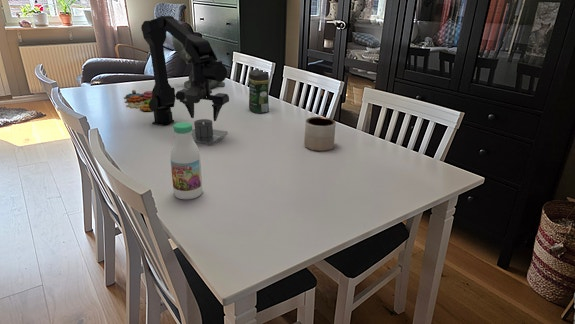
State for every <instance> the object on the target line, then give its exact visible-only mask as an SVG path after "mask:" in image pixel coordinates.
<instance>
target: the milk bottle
mask: <svg viewBox="0 0 575 324" xmlns="http://www.w3.org/2000/svg"><path fill="white" fill-rule="evenodd" d="M172 127H173V133H174V141H173V144H172V147H171V149H170V155H169V156H170V168H171V169H170V170H171V178H172V179H171V180H172V189H173V195H174V196H175V197H176V198H177V199H181V200H193V199H195V198H199V197H200V196H201V195H202V194H203V175H202V162H201V153H200V149H199V147H198V144H197V143H195V142H194V140H193V137H192V130H193V125H192V123H190V122H187V121H181V122H177V123H174V124H173V126H172Z"/></svg>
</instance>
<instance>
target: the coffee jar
mask: <svg viewBox="0 0 575 324" xmlns="http://www.w3.org/2000/svg"><path fill="white" fill-rule="evenodd" d="M269 82H270V74H269V73H268V72H265V71H263V70H260V69H251V70H249V72H248V85H249V87H248V88H249V90H248V93H249V94H248V108H249V110H250V111H251V112H252V113H255V114H265V113H267V112H269V111H270V107H269V106H270V105H269V104H270V103H269V102H270V101H269V84H270V83H269Z"/></svg>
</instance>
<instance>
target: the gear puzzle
mask: <svg viewBox="0 0 575 324" xmlns="http://www.w3.org/2000/svg"><path fill="white" fill-rule="evenodd" d="M123 99H124V100H125V101H124V103H125V104H126V105H125V106H126V108H129V109H139V111H143V112H146V111H147V112H151V111H152V110H151V109H150V108H149V105H148V104H149V102H150V100H151V99H152V90H146V91H144V92H143V93H139V92H138V93H137V91H136V89H132V90H131V93H128V94H126V95H125V97H123Z"/></svg>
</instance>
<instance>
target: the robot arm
mask: <svg viewBox="0 0 575 324" xmlns="http://www.w3.org/2000/svg"><path fill="white" fill-rule="evenodd" d="M140 28H141V32H142V35H143V39H144V41H145V42H146V43H147V45H149V51H150V59H151V65H152V71H153V76H154V77H153V78H154V79H153V80H154V85H153V88H152V90H151V91H152V99H151V100H150V102H149V104H148V105H149V108H150V109H151V111H153V119H154V121H152V125H153V124H154V125H159V126H167V125H169V124H171V123H173V122H175V119H173V112H172V108H174V107H175V103H176V100H178V101H179V103H182V104H183V105H184V106H185V107H186V109H187V112H188V113H189V116H190V118H191V119H195V104H199V103H200V101H202V100H205V101H206V100H207V101H211V102H212V104H211V107H212V110H213V111H212V112H213V115H212V116H213V117H212V118H213V122H216V121H217V119H218V116H219V114H220V111H221V109H222V108H223V106H224V105H226V104H227V103H229V102H230V96H229V94H227V93H223V92H218V93H216V94H214V95H213V91H212V90H211V88H210V82H211V80H214V81H218V82H224V81H225V80H226V78H227V76H228V70H227V68H226V66H225V65H223V61H222V60H218V58H217V55H216V53H215V52H214V49H213V47H212V46H211V43H210V42H209V41H208V40H207V39H205V38H203V37H202V36H198V35H195V34H192V32H190V31H189V30H188V29H187V28H186V27H185V26H183V25H182V24H180V22H178V21H177V20H176V19H175V17H174V16H172V15H160V16H158V17H157V18H154V19H151V20H144V21H143V23H142V24H141V27H140ZM167 33H169V34H170V35H172V37H173V38H176V39H177V40H178V41H179V42H181V43H182V44H183V47H184V48H185V51H186V52H187V53H188V54H189V56H190V57H191V59H190V60H188V63H191V64H192V65H191V64H190V65H191V67H192V68H191V71H193V81H191V87H190V88H189V89H188V88H183V89H181V90H180V89H179V90H178V91H175V90H176V89H175V87H172V85H170V83H169V78H168V72H167V71H168V70H167V65H166V55H165V49H164V44H165V42H166V40H167ZM208 56H209V57H208ZM202 57H204V58H202Z"/></svg>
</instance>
